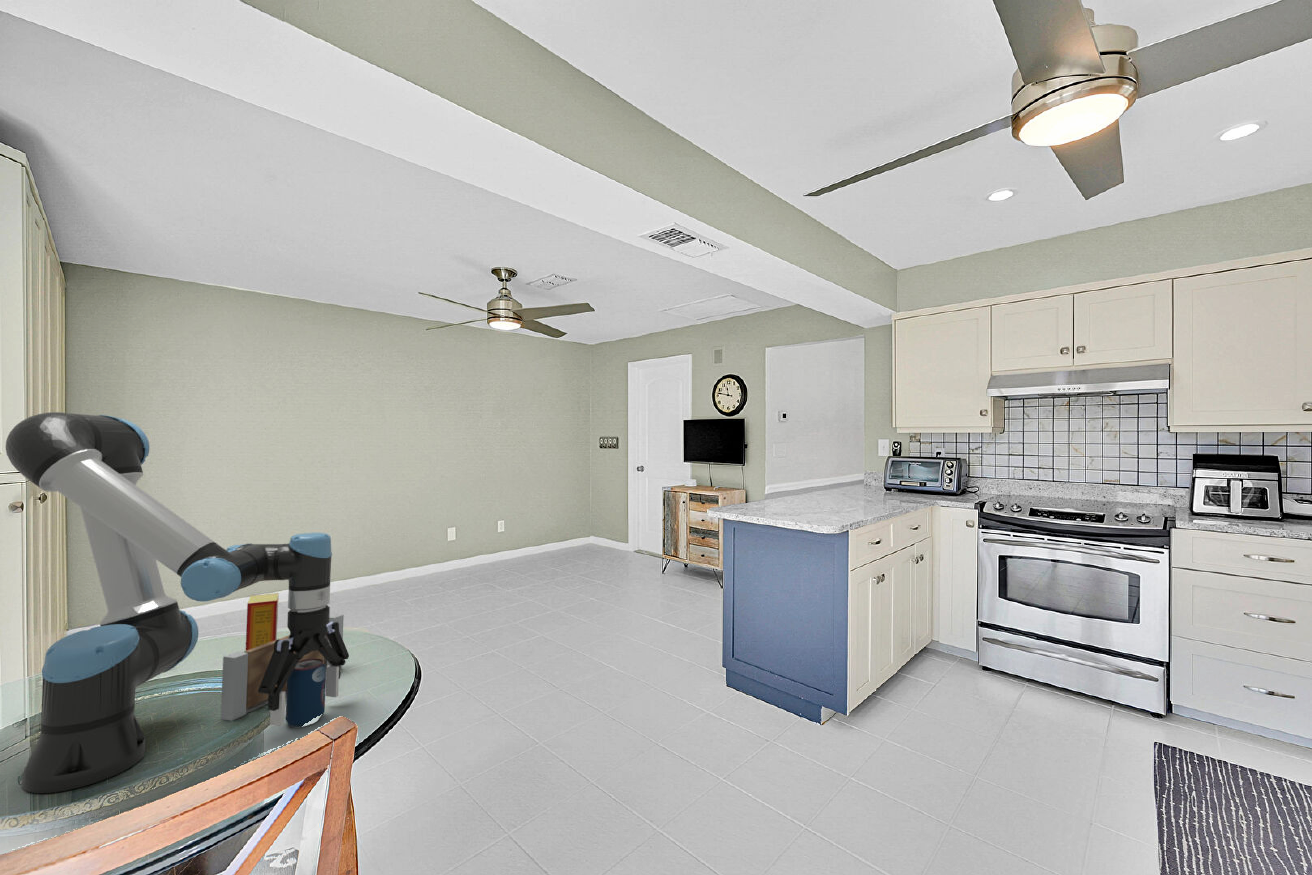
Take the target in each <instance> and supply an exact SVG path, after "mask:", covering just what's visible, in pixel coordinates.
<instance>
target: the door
mask: <svg viewBox="0 0 1312 875" xmlns="http://www.w3.org/2000/svg"><path fill="white" fill-rule="evenodd" d="M289 636H290V634H289V635H286V636H283V637H281V638H278V639H279V640H285V639H288V638H289ZM325 639H326V640H327V641H328V637H327V635H325ZM275 641H276V640H275ZM275 641H272V642H269V643H266V644H264V645H261V646H258V647H255V648H252V649H249V650H247V651H246V650H244V651H243V653H248V671H247V696H246V708H249V707H251V706H253V705H256V704H258V703H260V702H262V701H264V700H266V699H268V694H262V693H258V689H259V687H260V684H261V682H262V679H263V677H264V674H265V672H266V669H267V667H268V664H269V662H270V659H271V657H272V654H273V651H274V643H275ZM293 653H294V654H297V653H295V651H294V652H293ZM305 659H322V660H323V664H324V666H325V667H326V666H327V660H326V659H325V658H324V657H323V655H322V654H321V653H320V652H319V651H318V650H316V651H311V652H310V653H309V654H306V655H304V656H303V658H302V659H301V660H305ZM301 660H299V661H301ZM275 687H277V685H276V686H275ZM286 690H287V682H286V684H285V686H284V687H283V689H282V691H286Z"/></svg>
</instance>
